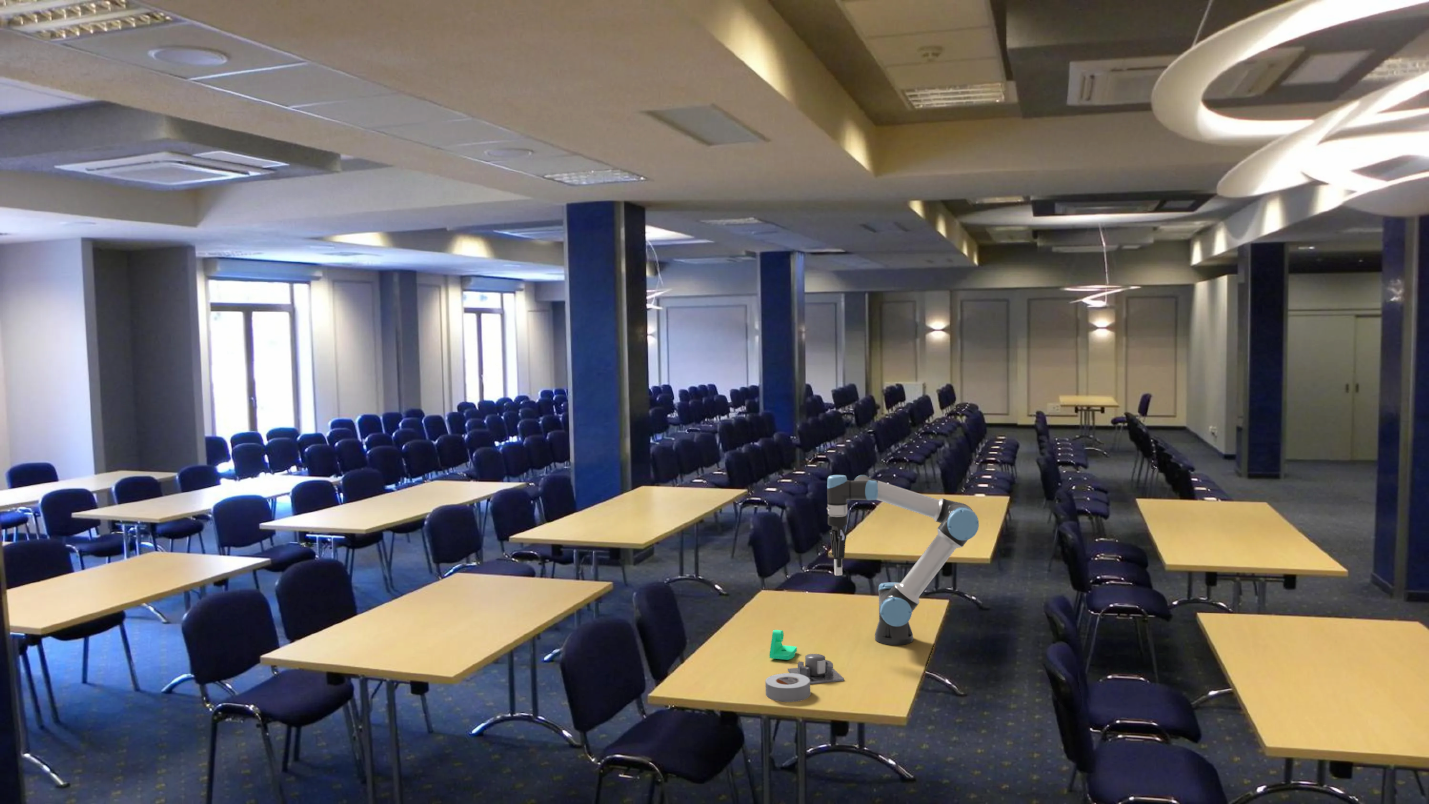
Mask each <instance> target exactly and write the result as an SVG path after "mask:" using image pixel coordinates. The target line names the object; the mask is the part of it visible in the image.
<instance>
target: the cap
mask: <svg viewBox="0 0 1429 804" xmlns="http://www.w3.org/2000/svg"><path fill="white" fill-rule="evenodd" d="M804 658H805V659H804V666H805V667H808V668H810V675H811V676H822V675H824V674H825V664H826V661H825V660H826V656H825V654H824V655H823V654H821V653H820V654H819V653H809V654H806V655H805V657H804Z"/></svg>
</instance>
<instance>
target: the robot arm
mask: <svg viewBox="0 0 1429 804" xmlns="http://www.w3.org/2000/svg"><path fill="white" fill-rule="evenodd" d="M826 487H827V488H826V491H827V492H826V495H827V507H826V510H827V525H828V526H831V530H829V531H828V532H829V537H830V547H831V548H830V549H831V554H832V557H833V569H834V576H843V559H845V552H846V541H847V535H845V530H844V527H846V526H847V525H848V516H847V515H848V501H852V500H853V501H874V500H876V501H880V502H883V503H884V504H885V503H886V504H889V505H892V506H895V507H898V508H901V509H904V510H906V511H910V512H913V513H918V514H920V515H922V516H925V517H929V518H932V519H933V520H934V522H937V523H939V526H938V527H937V528H936V529H937V535H936V536H935V538H934V539H933V540H932V541H931V542H930V544H929V545H928V547H926V549H925V551H924V552H923V553H922V555H920V557H919V558H918V560H917V561H915V564H914V565H913V566H912V567H911V568H910V570H909V571H908V573H907V574H906V575H905V576H904V578H903V579H902V580H901V582H895V581H893V582H892V581H891V582H881V583H880V584H879V585H878V590H877V591H878V622H877V626H876V630H875V633H874V640H875V642H878V643H880V644H883V645H889V646H903V645H908V644H911V643H912V642H914V634H913V631H912V628H911V625H910V620H911V618H912V615H913V612H914V611H915V609H916V608H917V607H918V605H919V604H920V596H921V594H922V593H923V592H924V591H925V590H926V588H927V587H928V586H929V584H930V583H931V582H932V580H933V579H934V578H935V577H936V575H937V574H938V573H939V571H940V570H941V569H942V568H943V566H944V565H945V564H946V562H947V561H948V560H949V558H950V557H951V556H952V554H953V553H954V552H955V551H956V549H959V548H963V547H964V545H965V544H966V543H967V542H968V540H971V539H972V538H974V537H975V535H976V534H977V532H978V531H979V526H980V525H979V524H980V523H979V517H978V515H977V514H976V512H975V511H973V509H972V507H970V506H969V505H967V504H965V503H962V502H960V501H959V502H957V501H954V500H949V499H947V498H942V497H941V498H939V499H937V498H934V497H931V496H928V495H924V494H922V493H918V492H916V491H913V490H909V489H906V488H903V487H900V486H896V485H893V484H890V483H887V482H884V481H880V480H877V479H873V478H870V477H869V476H868V475H865V474H860V475H858V476H856V477H855V478H854V480H848V478H847V475H844V474H833V475H831V474H830V475H829V476H828V477H827V485H826Z"/></svg>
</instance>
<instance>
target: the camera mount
mask: <svg viewBox="0 0 1429 804" xmlns="http://www.w3.org/2000/svg"><path fill="white" fill-rule="evenodd" d="M784 634H785V633H784V630H782V629H781V630H780V629H773V630H772V634H771V641H770V647H769V650H770V651H769V659H773V660H774V659H775V660H776V659H777V660H786V661H789V660H792V659H793V658H794V657H795V656H796V653H797V652H798V646H795V645H794V646H793V645H783V644H782V643H783V641H784V636H785V635H784Z"/></svg>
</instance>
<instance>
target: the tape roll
mask: <svg viewBox="0 0 1429 804" xmlns="http://www.w3.org/2000/svg"><path fill="white" fill-rule="evenodd" d="M764 682H765V685H764V686H765V696H766V697H767V698H768V699H770V700H773V701H777V702H782V703H794V702H795V703H796V702H801V701H805V700H807V699H808V698H810V697H811V684H810V679H809V678H808V677H806V676H804V675H801V674H795V673H789V672H785V673H778V674H777V673H776V674H773V675H770V676H768V677H767V678H766V679H765V681H764Z"/></svg>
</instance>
